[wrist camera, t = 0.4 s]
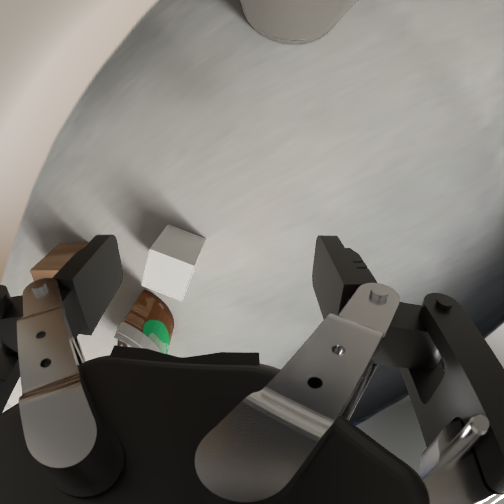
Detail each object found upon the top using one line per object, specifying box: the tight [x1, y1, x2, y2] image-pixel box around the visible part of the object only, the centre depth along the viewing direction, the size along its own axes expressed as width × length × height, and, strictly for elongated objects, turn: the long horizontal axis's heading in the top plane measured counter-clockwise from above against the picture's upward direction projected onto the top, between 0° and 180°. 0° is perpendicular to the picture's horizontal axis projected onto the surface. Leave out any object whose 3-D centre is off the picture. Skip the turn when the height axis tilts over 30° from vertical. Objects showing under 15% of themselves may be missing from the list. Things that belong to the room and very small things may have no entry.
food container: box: [114, 290, 174, 354], centre depth 35 cm, size 12×6×10 cm, turn 160°
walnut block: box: [30, 242, 88, 281], centre depth 33 cm, size 5×5×7 cm
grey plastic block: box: [141, 224, 206, 302], centre depth 32 cm, size 4×4×6 cm
